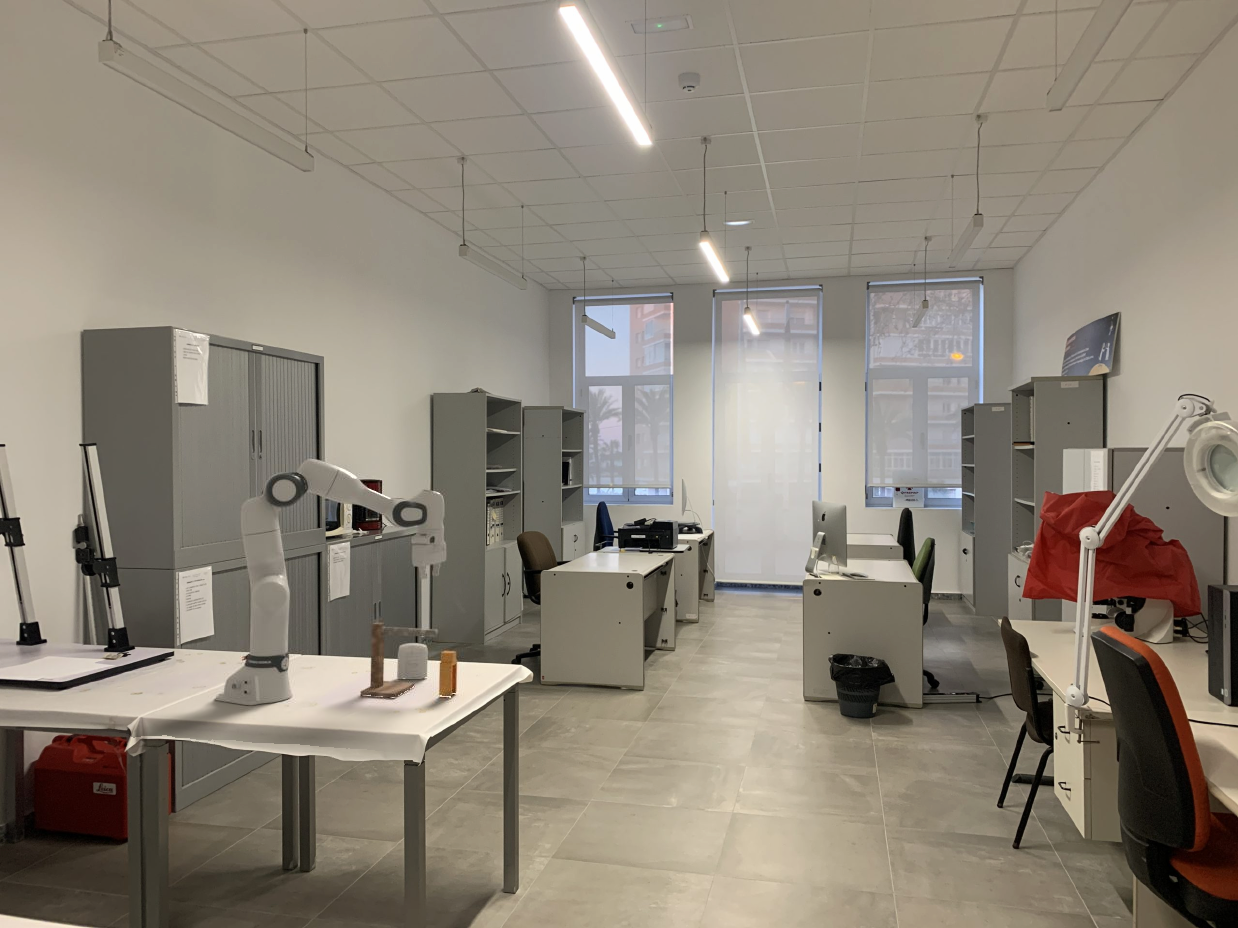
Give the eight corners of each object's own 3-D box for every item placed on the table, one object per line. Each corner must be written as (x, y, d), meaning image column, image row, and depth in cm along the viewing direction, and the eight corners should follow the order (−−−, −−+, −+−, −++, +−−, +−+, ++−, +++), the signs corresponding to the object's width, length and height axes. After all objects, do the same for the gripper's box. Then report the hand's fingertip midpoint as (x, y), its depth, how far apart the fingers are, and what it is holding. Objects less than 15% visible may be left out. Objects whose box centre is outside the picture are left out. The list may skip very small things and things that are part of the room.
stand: (360, 695, 257) (361, 626, 257) (381, 685, 271) (382, 619, 271) (425, 700, 253) (427, 630, 253) (443, 689, 266) (445, 622, 267)
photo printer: (427, 676, 283) (428, 641, 284) (426, 679, 279) (427, 644, 279) (398, 677, 282) (398, 642, 282) (396, 680, 278) (397, 644, 278)
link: (439, 697, 257) (439, 653, 257) (444, 693, 261) (445, 650, 262) (450, 698, 256) (451, 653, 256) (456, 694, 261) (457, 650, 261)
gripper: (435, 535, 286) (433, 573, 286) (408, 538, 266) (407, 580, 266) (451, 535, 285) (450, 574, 284) (426, 539, 265) (425, 581, 264)
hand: (429, 577), depth 275 cm, fingers open, 8 cm apart
